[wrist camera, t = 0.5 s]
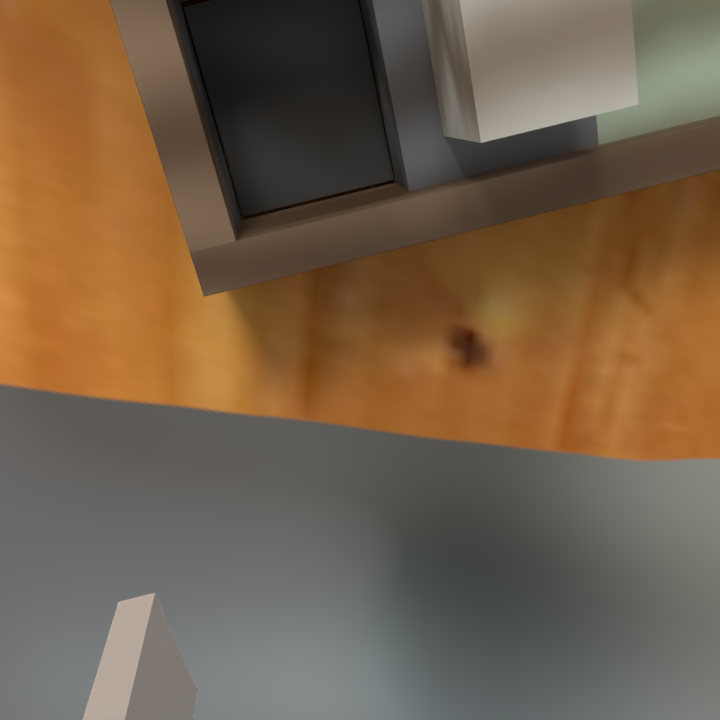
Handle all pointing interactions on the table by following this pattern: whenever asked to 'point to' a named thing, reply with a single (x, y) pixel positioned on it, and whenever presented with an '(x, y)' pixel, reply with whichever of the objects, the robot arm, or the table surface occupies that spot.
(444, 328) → the table surface
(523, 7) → the block
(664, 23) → the trap box
